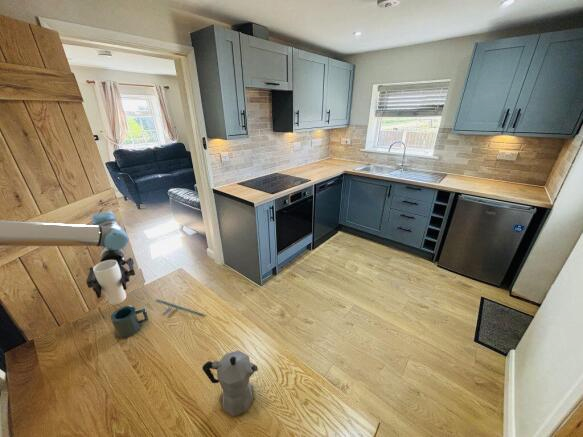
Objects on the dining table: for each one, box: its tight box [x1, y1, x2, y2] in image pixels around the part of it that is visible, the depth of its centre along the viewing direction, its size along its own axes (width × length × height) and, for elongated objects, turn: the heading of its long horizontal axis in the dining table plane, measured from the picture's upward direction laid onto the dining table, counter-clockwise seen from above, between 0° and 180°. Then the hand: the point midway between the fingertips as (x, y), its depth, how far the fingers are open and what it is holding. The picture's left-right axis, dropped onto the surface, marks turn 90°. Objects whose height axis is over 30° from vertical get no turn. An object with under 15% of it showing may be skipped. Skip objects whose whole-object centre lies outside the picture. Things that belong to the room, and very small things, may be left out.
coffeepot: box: [202, 350, 259, 417], centre depth 67 cm, size 15×9×18 cm, turn 86°
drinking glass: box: [93, 260, 127, 305], centre depth 82 cm, size 7×7×15 cm
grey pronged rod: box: [156, 299, 204, 318], centre depth 99 cm, size 1×25×5 cm
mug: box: [110, 305, 149, 339], centre depth 90 cm, size 11×8×9 cm
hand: (111, 290), depth 78 cm, fingers closed on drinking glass, 6 cm apart
